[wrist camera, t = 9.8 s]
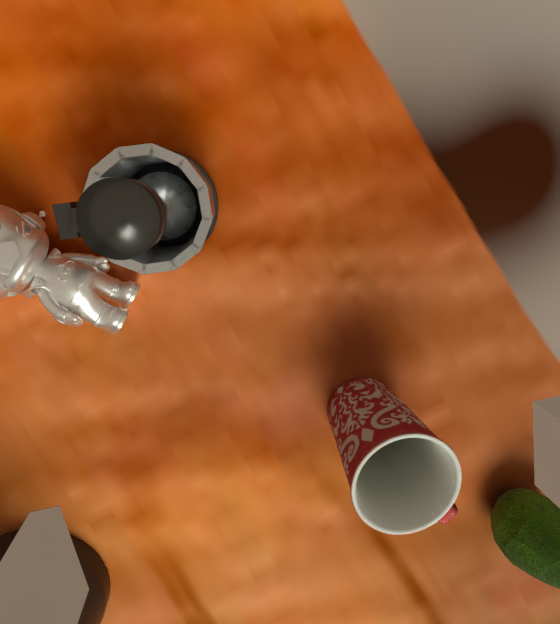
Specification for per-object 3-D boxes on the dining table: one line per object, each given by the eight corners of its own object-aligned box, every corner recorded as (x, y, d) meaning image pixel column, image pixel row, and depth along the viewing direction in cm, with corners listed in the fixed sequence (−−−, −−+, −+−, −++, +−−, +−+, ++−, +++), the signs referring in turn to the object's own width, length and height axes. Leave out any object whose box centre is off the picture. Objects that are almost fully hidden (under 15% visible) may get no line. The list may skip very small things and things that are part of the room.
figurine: (114, 352, 36) (-102, 256, 30) (89, 373, 42) (-99, 296, 36) (160, 250, 42) (-15, 150, 36) (132, 281, 47) (-24, 200, 41)
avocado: (526, 461, 53) (610, 536, 42) (546, 511, 55) (630, 595, 44) (464, 492, 53) (530, 576, 42) (486, 541, 56) (555, 633, 44)
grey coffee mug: (105, 265, 42) (68, 290, 32) (81, 160, 40) (32, 151, 30) (225, 249, 43) (225, 267, 33) (209, 145, 41) (203, 130, 30)
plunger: (137, 243, 40) (73, 283, 23) (123, 176, 38) (45, 167, 22) (201, 234, 40) (185, 267, 24) (190, 168, 39) (164, 153, 22)
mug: (300, 408, 48) (327, 490, 35) (364, 351, 47) (417, 412, 34) (374, 480, 52) (425, 579, 39) (436, 427, 51) (509, 510, 38)
